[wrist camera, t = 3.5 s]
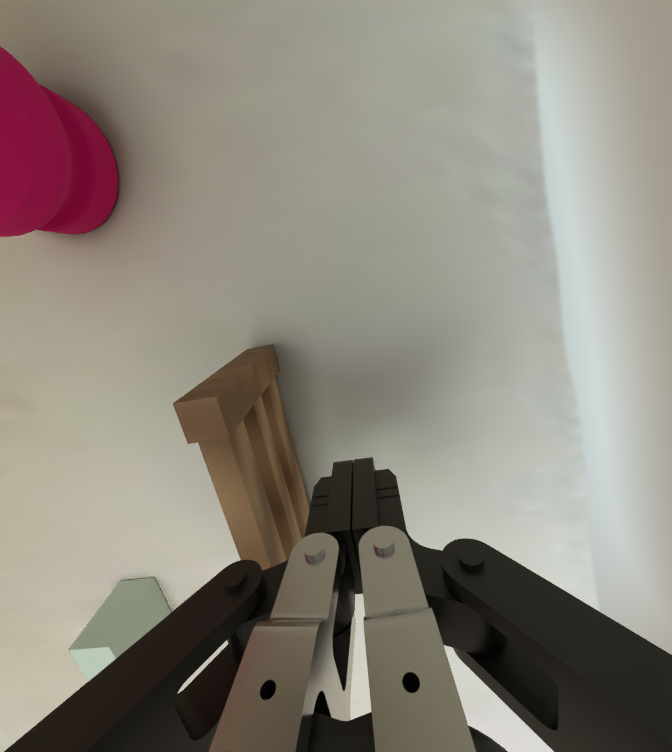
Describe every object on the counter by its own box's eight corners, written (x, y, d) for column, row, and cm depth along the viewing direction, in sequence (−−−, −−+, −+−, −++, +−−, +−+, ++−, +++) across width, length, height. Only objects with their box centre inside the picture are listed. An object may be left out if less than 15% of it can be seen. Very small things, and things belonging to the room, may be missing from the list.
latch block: (120, 580, 26) (67, 650, 21) (154, 577, 26) (108, 647, 21) (147, 632, 28) (104, 707, 23) (179, 630, 27) (142, 705, 23)
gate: (246, 349, 19) (173, 403, 11) (272, 345, 19) (215, 396, 11) (300, 538, 23) (272, 671, 15) (321, 536, 23) (305, 668, 15)
